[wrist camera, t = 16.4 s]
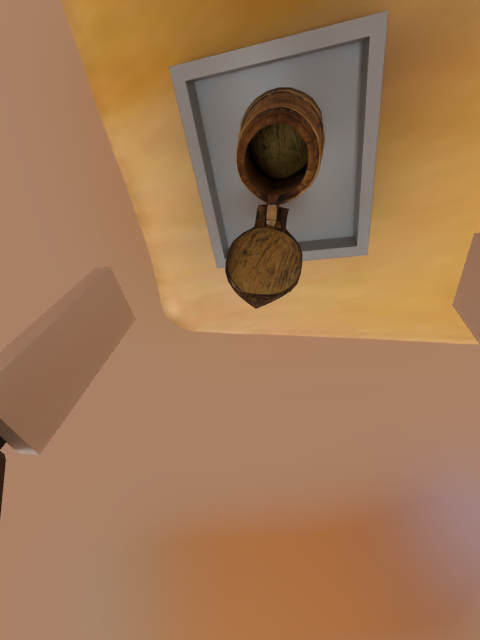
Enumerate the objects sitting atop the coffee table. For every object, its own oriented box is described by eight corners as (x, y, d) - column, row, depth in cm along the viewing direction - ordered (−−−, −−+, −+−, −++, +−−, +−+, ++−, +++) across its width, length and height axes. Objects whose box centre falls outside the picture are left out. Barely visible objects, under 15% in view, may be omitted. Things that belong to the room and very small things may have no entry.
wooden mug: (236, 222, 37) (198, 304, 23) (240, 84, 29) (186, 79, 15) (308, 230, 36) (314, 318, 22) (334, 89, 28) (371, 89, 14)
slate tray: (180, 69, 29) (168, 66, 26) (378, 19, 25) (388, 10, 22) (222, 256, 41) (217, 268, 38) (362, 242, 37) (367, 255, 34)
